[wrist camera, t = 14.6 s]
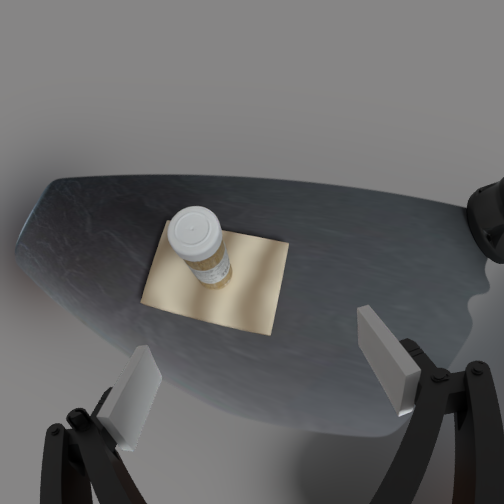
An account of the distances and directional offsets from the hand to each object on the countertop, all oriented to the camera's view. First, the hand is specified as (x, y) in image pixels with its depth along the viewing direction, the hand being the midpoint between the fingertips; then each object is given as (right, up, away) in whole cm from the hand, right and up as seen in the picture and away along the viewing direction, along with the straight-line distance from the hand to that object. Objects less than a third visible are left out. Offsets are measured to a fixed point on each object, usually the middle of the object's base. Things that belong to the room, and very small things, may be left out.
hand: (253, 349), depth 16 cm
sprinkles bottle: (-5, +3, +20) cm, 20 cm away
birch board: (-5, +3, +21) cm, 21 cm away
